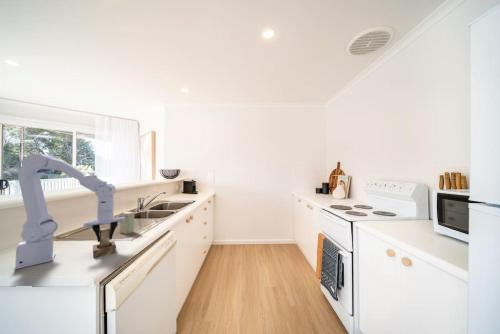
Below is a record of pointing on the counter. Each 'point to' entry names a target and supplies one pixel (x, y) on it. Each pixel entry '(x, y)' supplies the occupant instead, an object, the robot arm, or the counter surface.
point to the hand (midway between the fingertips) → (104, 240)
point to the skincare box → (127, 222)
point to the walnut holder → (104, 249)
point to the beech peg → (104, 238)
